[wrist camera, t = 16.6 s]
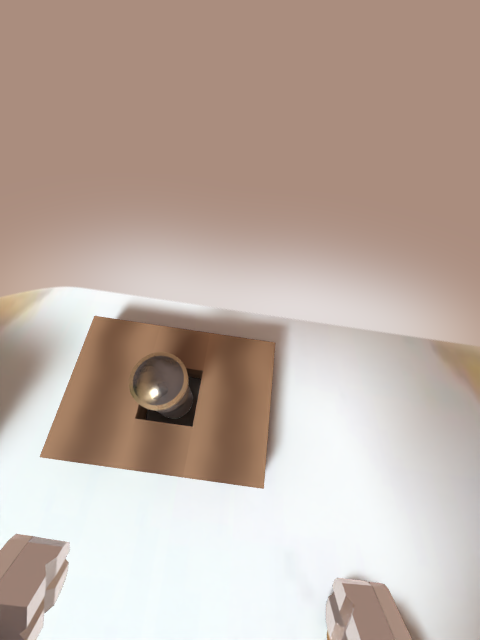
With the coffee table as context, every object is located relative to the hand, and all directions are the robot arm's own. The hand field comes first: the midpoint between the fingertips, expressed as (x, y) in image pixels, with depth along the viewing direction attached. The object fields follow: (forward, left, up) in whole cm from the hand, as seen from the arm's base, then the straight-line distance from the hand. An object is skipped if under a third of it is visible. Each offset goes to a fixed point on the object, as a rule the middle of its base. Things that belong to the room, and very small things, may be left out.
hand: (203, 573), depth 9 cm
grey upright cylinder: (+9, -4, -22) cm, 24 cm away
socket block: (+9, -4, -22) cm, 24 cm away
